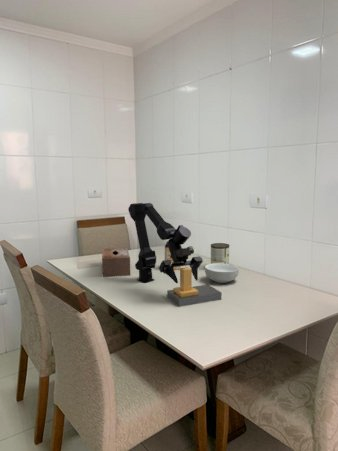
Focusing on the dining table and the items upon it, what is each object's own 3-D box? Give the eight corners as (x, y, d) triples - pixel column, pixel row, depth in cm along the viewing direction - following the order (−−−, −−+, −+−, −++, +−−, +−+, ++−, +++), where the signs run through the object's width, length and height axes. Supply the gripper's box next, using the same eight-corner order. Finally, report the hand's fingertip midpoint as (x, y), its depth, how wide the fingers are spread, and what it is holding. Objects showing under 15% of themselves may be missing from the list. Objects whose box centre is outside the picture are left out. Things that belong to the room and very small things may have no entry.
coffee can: (210, 266, 203) (210, 242, 201) (228, 267, 202) (228, 243, 200) (210, 271, 193) (210, 246, 191) (229, 272, 192) (230, 246, 190)
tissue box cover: (130, 276, 187) (130, 257, 186) (102, 277, 185) (102, 258, 183) (127, 263, 212) (127, 247, 211) (103, 265, 210) (102, 248, 208)
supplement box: (166, 270, 196) (166, 247, 194) (164, 268, 201) (164, 245, 199) (180, 269, 198) (180, 246, 196) (178, 267, 203) (178, 244, 201)
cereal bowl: (238, 286, 167) (238, 272, 166) (203, 284, 171) (203, 270, 170) (238, 276, 184) (238, 263, 183) (206, 275, 187) (206, 262, 186)
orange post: (173, 296, 153) (173, 267, 151) (189, 294, 156) (189, 265, 154) (181, 302, 146) (181, 272, 144) (198, 300, 149) (198, 270, 147)
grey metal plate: (167, 297, 154) (167, 290, 154) (207, 290, 162) (207, 284, 161) (179, 306, 143) (178, 299, 143) (221, 299, 151) (221, 292, 151)
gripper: (161, 241, 147) (172, 274, 139) (200, 238, 155) (213, 269, 146) (154, 256, 155) (164, 287, 147) (192, 252, 163) (204, 282, 154)
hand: (187, 281), depth 148 cm, fingers open, 9 cm apart
